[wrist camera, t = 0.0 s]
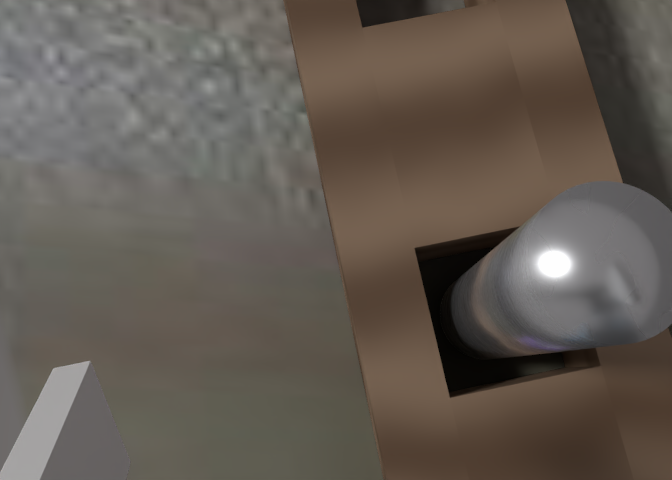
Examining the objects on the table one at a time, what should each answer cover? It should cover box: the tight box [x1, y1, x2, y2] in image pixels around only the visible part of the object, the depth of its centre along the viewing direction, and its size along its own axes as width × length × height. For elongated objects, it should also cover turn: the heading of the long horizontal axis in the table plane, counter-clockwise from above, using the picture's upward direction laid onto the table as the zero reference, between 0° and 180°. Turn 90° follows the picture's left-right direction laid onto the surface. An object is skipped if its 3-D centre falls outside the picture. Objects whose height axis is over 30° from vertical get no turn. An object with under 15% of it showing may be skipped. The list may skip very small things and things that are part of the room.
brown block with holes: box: [283, 0, 672, 480], centre depth 29 cm, size 32×12×4 cm, turn 12°
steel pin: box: [440, 181, 672, 360], centre depth 22 cm, size 4×4×14 cm
